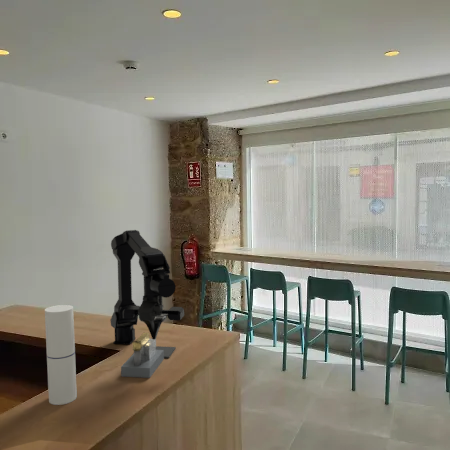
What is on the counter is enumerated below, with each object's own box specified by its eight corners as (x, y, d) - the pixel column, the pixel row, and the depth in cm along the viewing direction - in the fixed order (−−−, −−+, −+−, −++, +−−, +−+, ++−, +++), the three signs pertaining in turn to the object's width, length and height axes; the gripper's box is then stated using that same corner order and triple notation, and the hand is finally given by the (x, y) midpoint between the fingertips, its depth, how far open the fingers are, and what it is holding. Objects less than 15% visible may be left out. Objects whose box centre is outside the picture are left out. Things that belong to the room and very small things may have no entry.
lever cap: (134, 359, 139) (133, 345, 138) (141, 351, 146) (141, 338, 145) (149, 360, 138) (149, 346, 138) (156, 352, 145) (155, 338, 145)
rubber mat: (134, 356, 149) (134, 355, 149) (143, 347, 158) (143, 345, 158) (168, 358, 147) (168, 356, 147) (175, 348, 156) (175, 347, 156)
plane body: (121, 376, 134) (120, 352, 133) (138, 357, 148) (137, 335, 148) (149, 377, 132) (149, 353, 132) (164, 358, 147) (163, 336, 146)
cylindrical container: (50, 407, 115) (46, 313, 113) (47, 396, 121) (43, 307, 119) (78, 400, 118) (75, 309, 116) (74, 390, 125) (71, 303, 123)
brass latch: (131, 350, 133) (131, 343, 133) (142, 339, 143) (142, 332, 143) (139, 351, 133) (139, 343, 133) (150, 339, 143) (150, 332, 143)
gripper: (115, 296, 133) (116, 346, 134) (175, 298, 130) (176, 349, 131) (128, 288, 144) (129, 334, 145) (184, 289, 141) (185, 336, 142)
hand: (154, 339), depth 141 cm, fingers closed
